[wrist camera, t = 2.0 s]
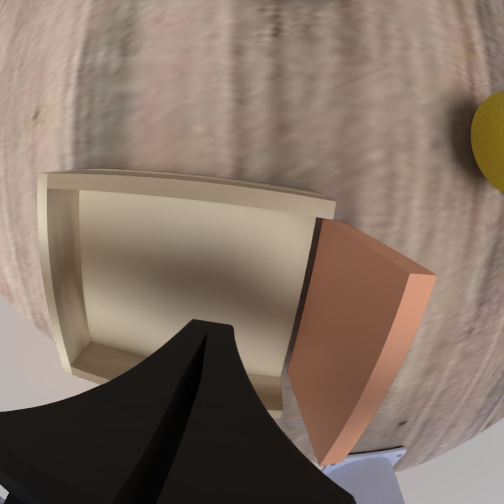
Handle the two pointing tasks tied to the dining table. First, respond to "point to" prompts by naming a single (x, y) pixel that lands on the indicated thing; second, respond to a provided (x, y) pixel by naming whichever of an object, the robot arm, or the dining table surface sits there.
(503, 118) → the lemon
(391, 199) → the dining table surface
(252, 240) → the cream shallow tray
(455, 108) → the dining table surface
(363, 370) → the panel
